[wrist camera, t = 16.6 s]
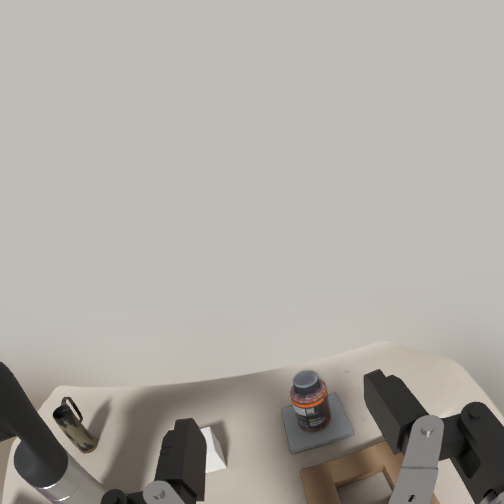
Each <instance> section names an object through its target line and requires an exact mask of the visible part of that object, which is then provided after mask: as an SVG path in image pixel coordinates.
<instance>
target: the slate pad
mask: <svg viewBox="0 0 504 504" xmlns="http://www.w3.org/2000/svg"><path fill="white" fill-rule="evenodd" d="M328 400H329V406H330V413H331V420H330V422H329V424H328V425H327V426H326V427H325V428H324V429H322V430H319V431H316V432H308V431H305V430H303V429H302V428H301V427H300V426H299V424H298V421H297V417H296V414H295V410H294V407H293V406H289V407H286V408H282V409H281V411H282V415H283V420H284V424H285V429H286V433H287V438H288V442H289V447H290V451H291V454H293V453H297V452H301V451H304V450H308V449H312V448H315V447H318V446H322V445H325V444H328V443H331V442H334V441H337V440H340V439H343V438H346V437H349V436H352V435H354V430H353V428H352V425H351V423H350V421H349V419H348V417H347V415H346V413H345V411H344V409H343V407H342V404H341V402H340V400H339V398H338V396H337V394H336V393H333V394H330V395H328Z"/></svg>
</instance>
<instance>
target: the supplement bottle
mask: <svg viewBox="0 0 504 504" xmlns="http://www.w3.org/2000/svg"><path fill="white" fill-rule="evenodd" d="M293 384H294V385H293V387H292V388H291V391H290V396H291V400H292V403H293V407H294V410H295V414H296V417H297V421H298V424H299V426H300V427H301V428H302V429H303V430H305V431H308V432H316V431H319V430H322V429H324V428H325V427H326V426H327V425H328V424H329V422H330V420H331V413H330V406H329V400H328V394H327V388H326V385H325V383H324V382H323V381H321V380H320V379H319V378H318V375H317V373H315V372H313V371H303V372H300V373H298V374H297V375H296V376H295V377H294V379H293Z"/></svg>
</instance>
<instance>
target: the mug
mask: <svg viewBox="0 0 504 504" xmlns="http://www.w3.org/2000/svg"><path fill="white" fill-rule="evenodd" d="M67 399H68V400H69V402H70V403H71V405H72V406H73V408H74V409H75V411H76V412H77V414H78V415H79V417H80V420H78V419H77V417H76V416H75V415H74V413H73V412H72V410H71V409H70V407H69V406H68V405H67V404H66V400H67ZM53 418H54V419H55V421H56V422H57V424H58V425H59V427H60V428H61V429H62V431H63V432H64V433H65V435H66V436H67V437H68V438H69V439H70V441H71V442H72V443H73V444H74V445H75V446H76V447H77V448H78V449H79V450H80V451H81V452H83V453H90V452H92V451H93V450H94V449H95V448H96V447H97V444H98V443H97V440H96V439H95V438H94V437H93V436H92V435H91V434H90V433H89V432H88V431H87V430H86V428H85V427H84V426H83V425H82V424H81V422H82V420H83V417H82V415H81V413H80V411H79V410H78V408H77V406H76V405H75V403H74V402H73V400H72V399H71V398H70V397H64V398H63V399H62V403H61V406H60V407H58V408H57V409H56V410H55V411H54V412H53Z"/></svg>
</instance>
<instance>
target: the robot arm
mask: <svg viewBox="0 0 504 504" xmlns="http://www.w3.org/2000/svg"><path fill="white" fill-rule="evenodd" d="M364 399H365V403H366V406H367V408H368V410H369V411H370V413H371V415H372V417H373V418H374V420H375V422H376V424H377V425H378V427H379V429H380V431H381V432H382V434H383V436H384V438H385V440H386V441H387V443H388V445H389V447H390V448H391V450H392V452H393V454H394V455H397V454H399V453H402V454H403V456H404V460H403V463H402V466H401V469H400V473H399V476H398V479H397V481H396V484H395V487H394V490H393V493H392V495H391V498H390V500H389V503H388V504H430V501H431V498H432V495H433V491H434V487H435V483H436V479H437V475H438V468H437V465H438V461H441V460H444V459H448V458H450V460H451V461H452V463H453V465H454V467H455V468H456V470H457V472H458V474H459V475H460V477H461V479H462V481H463V482H464V484H465V486H466V488H467V490H468V492H469V493H470V495H471V497H472V499H473V501H474V503H475V504H504V426H503V425H502V424H501V423H500V421H499V420H498V419H497V418H496V417H495V415H494V414H493V413H492V412H491V411H490V409H489V408H488V407H487V406H486V405H485V404H483V403H481V402H472V403H469V404H467V405H466V406H465V407H464V408H463V409H462V411H461V413H460V414H457V415H454V416H450V417H447V418H439V417H437V416H434V415H429V414H428V413H427V412H426V410H425V409H424V408H423V406H422V405H421V404H420V403H419V401H418V400H417V399H416V397H415V396H414V395H413V394H412V393H411V391H410V390H409V389H408V388H407V386H406V385H405V384H404V382H403V381H402V380H401V379H400V378H398V377H396V376H394V375H390V376H388V377H386V376H385V375H384V374H383V372H382V371H381V370H380V369H378V370H375V371H373V372H370V373H368V374H365V375H364ZM14 436H18V437H19V438H20V440H21V442H20V444H19V445H18V447H17V449H16V451H15V454H14V466H15V468H16V470H17V472H18V473H19V475H20V476H21V477H22V478H23V479H24V480H26V481H27V482H28V483H29V484H30V485H31V486H32V487H34V488H35V489H36V490H37V491H38V492H39V493H41V494H42V495H43V496H44V497H46V498H47V499H48V500H49V501H51V502H52V503H53V504H196V501H204V494H205V473H206V456H207V443H206V439H205V437H204V435H203V433H202V432H201V430H200V429H199V427H198V425H197V424H196V422H195V421H194V419H193V418H187V419H178V420H176V422H175V427H174V430H170V431H168V432H167V434H166V435H165V437H164V438H163V441H162V446H161V448H162V449H161V450H160V456H159V460H158V465H157V469H156V474H155V479H154V482H151V483H149V484H148V485H147V486H146V487H145V488H144V491H141V492H136V493H131V494H125V493H124V492H122V491H120V490H117V489H114V490H110V491H109V490H107V489H106V488H105V487H104V486H103V485H101V484H100V483H99V482H98V481H97V480H96V479H95V478H94V477H92V476H91V475H90V474H89V473H88V472H87V471H86V470H85V469H84V468H83V467H82V466H81V465H80V464H79V463H78V462H77V461H76V460H75V459H74V458H73V457H72V456H71V455H70V454H69V453H68V452H67V451H66V450H65V449H64V448H63V447H62V445H61V444H60V443H59V442H58V440H57V439H56V438H55V436H54V435H53V433H52V432H51V430H50V429H49V427H48V426H47V425H46V423H45V422H44V421H43V420H42V418H41V417H40V415H39V414H38V413H37V411H36V410H35V408H34V407H33V405H32V404H31V402H30V400H29V399H28V397H27V396H26V394H25V392H24V391H23V389H22V387H21V386H20V384H19V382H18V381H17V379H16V378H15V377H14V375H13V373H12V372H11V371H10V370H9V368H8V367H6V365H4V364H3V363H2V362H0V442H1V441H4V440H7V439H9V438H11V437H14Z"/></svg>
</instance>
